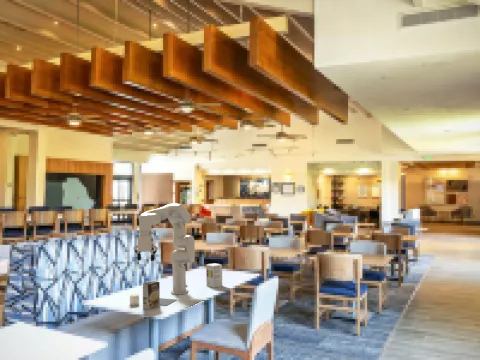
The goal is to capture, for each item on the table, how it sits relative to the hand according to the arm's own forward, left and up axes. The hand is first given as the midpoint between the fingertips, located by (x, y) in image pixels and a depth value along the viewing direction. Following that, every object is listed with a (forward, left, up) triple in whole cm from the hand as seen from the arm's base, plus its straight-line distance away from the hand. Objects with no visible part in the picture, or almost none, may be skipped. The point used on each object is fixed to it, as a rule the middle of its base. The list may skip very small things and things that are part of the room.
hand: (145, 260), depth 261 cm
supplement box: (-71, +17, -31) cm, 80 cm away
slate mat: (-18, 0, -31) cm, 36 cm away
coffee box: (-5, 0, -31) cm, 32 cm away
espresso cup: (-9, -15, -31) cm, 36 cm away
